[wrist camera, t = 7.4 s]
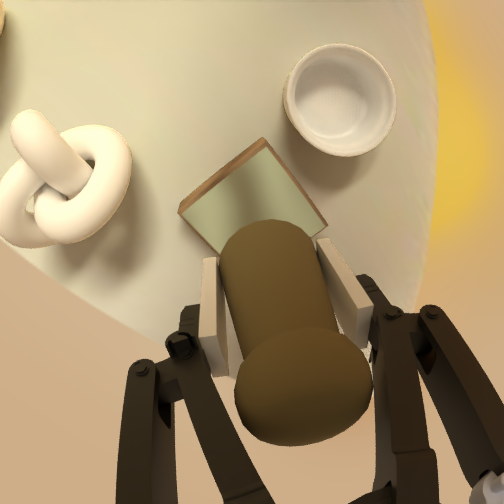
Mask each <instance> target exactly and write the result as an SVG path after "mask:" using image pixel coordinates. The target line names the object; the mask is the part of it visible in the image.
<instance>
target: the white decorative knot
mask: <svg viewBox="0 0 504 504" xmlns="http://www.w3.org/2000/svg"><path fill="white" fill-rule="evenodd" d="M10 136H11V140H12V143H13V145H14V147H15V149H16V150H17V152H18V153H19V155H20V156H21V157H22V158H20V159H19V160H18V161H17V162H16V163H15V164H14V165H13V166H12V167H11V168H10V169H9V170H8V171H7V173H6V174H5V175H4V177H3V178H2V180H1V182H0V234H1V236H2V237H3V238H4V239H5V240H6V241H8V242H9V243H11V244H12V245H14V246H18V247H21V248H30V249H32V248H42V247H46V246H50V245H54V244H57V243H66V244H70V243H76V242H79V241H82V240H84V239H86V238H88V237H90V236H92V235H93V234H94V233H96V232H97V231H98V230H99V229H101V228H102V227H103V226H104V225H105V224H106V223H107V222H108V221H109V220H110V218H111V217H112V216H113V214H114V213H115V212H116V210H117V209H118V208H119V206H120V204H121V202H122V200H123V198H124V196H125V194H126V192H127V189H128V186H129V183H130V177H131V170H132V155H131V152H130V149H129V146H128V144H127V143H126V141H125V140H124V139H123V137H122V136H121V134H119V133H118V132H117V131H116V130H114V129H112V128H109V127H106V126H101V125H85V126H79V127H75V128H72V129H69V130H67V131H65V132H62V133H60V134H58V132H57V131H56V130H55V129H54V128H53V127H52V125H51V124H50V123H49V122H48V121H47V120H46V118H45V117H44V116H43V115H42V114H41V113H40V112H39V111H36V110H30V109H28V110H25V111H23V112H20V113H19V114H18V115H17V116H16V117H15V119H14V120H13V121H12V124H11V128H10ZM85 160H94V161H95V167H94V170H93V169H92V168H91V167H90V166H89V165H88V164H87V163H86V162H85ZM33 195H34V213H31V212H28V211H26V210H25V208H26V205H27V202H28V201H29V200H30V198H31V197H32V196H33ZM66 196H67V197H68V198H69V200H68V201H67V198H66Z"/></svg>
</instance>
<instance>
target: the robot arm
mask: <svg viewBox="0 0 504 504" xmlns="http://www.w3.org/2000/svg"><path fill="white" fill-rule="evenodd" d="M316 250H317V256H318V259H319V263H320V266H321V269H322V272H323V276H324V279H325V283H326V286H327V289H328V293H329V296H330V300H331V303H332V307H333V311H334V313H335V315H336V317H337V319H338V321H339V323H340V325H341V327H342V329H343V331H344V334H345V336H346V337H347V338H348V339H350V340H351V341H352V342H353V343H354V344H355V345H356V346H357V347H358V348H359V349H364V348H367V345H368V339H369V341H370V343H371V345H372V348H371V353H370V358H369V363H371V362H372V373H373V387H374V404H375V433H376V473H375V479H374V483H373V489H372V492H370V493H367V494H365V495H363V496H361V497H359V498H358V499H356V500H354V501H352V502H350V503H348V504H441V503H439V484H438V469H437V459H436V453H435V451H434V450H433V449H431V448H430V446H429V441H428V433H427V425H426V418H425V411H424V404H423V398H422V392H421V387H420V381H419V376H418V371H419V373H420V375H421V377H422V379H423V382H424V383H425V386H426V388H427V390H428V392H429V394H430V396H431V398H432V400H433V402H434V405H435V407H436V409H437V411H438V414H439V416H440V418H441V420H442V423H443V425H444V427H445V429H446V432H447V434H448V436H449V439H450V441H451V444H452V446H453V449H454V451H455V454H456V456H457V459H458V461H459V464H460V467H461V469H462V471H463V474H464V475H465V478H466V480H467V481H468V483H469V485H470V486H471V487H472V492H471V496H470V498H469V504H504V404H503V403H502V401H501V399H500V397H499V395H498V394H497V392H496V390H495V388H494V387H493V385H492V383H491V382H490V380H489V378H488V377H487V375H486V373H485V372H484V370H483V369H482V367H481V365H480V364H479V362H478V361H477V359H476V358H475V356H474V354H473V353H472V351H471V350H470V348H469V347H468V345H467V344H466V342H465V341H464V339H463V338H462V336H461V335H460V334H459V332H458V331H457V329H456V328H455V326H454V325H453V323H452V322H451V321H450V319H449V318H448V317H447V315H446V314H445V312H444V311H443V310H442V309H441V308H440V307H438V306H436V305H425V306H423V307H422V308H421V309H420V313H404V312H403V311H402V310H401V309H400V308H399V307H396V306H392V305H391V304H390V303H389V301H388V300H387V298H386V297H385V296H384V294H383V293H382V291H381V290H380V289H379V287H378V286H377V285H376V283H375V282H374V280H373V279H372V278H371V277H369V276H367V275H366V274H362V275H357V276H354V274H353V273H352V271H351V270H350V268H349V267H348V265H347V264H346V262H345V261H344V260H343V258H342V257H341V255H340V254H339V252H338V251H337V250H336V248H335V247H334V245H333V244H332V242H331V241H330V240H329V238H323V239H317V240H316ZM165 346H166V348H167V350H168V352H169V355H170V357H169V358H168V359H166V360H164V361H161V362H158V363H155V364H154V362H153V361H151V360H149V359H141V360H138V361H136V362H134V363H133V364H132V365H131V367H130V368H129V371H128V376H127V383H126V390H125V397H124V404H123V412H122V421H121V430H120V439H119V452H118V463H117V481H116V504H178V497H177V481H176V460H175V420H174V418H175V414H174V402H176V401H179V400H181V399H184V400H185V403H186V406H187V409H188V412H189V415H190V418H191V421H192V423H193V426H194V429H195V432H196V435H197V437H198V440H199V442H200V445H201V448H202V450H203V453H204V455H205V457H206V460H207V463H208V465H209V468H210V470H211V472H212V475H213V477H214V479H215V482H216V484H217V486H218V488H219V491H220V493H221V495H222V498H223V502H224V504H275V502H274V500H273V499H272V497H271V495H270V493H269V492H268V490H267V488H266V487H265V485H264V484H263V482H262V480H261V478H260V476H259V475H258V473H257V471H256V469H255V467H254V465H253V463H252V461H251V459H250V457H249V456H248V454H247V452H246V450H245V448H244V446H243V444H242V442H241V440H240V438H239V436H238V434H237V432H236V430H235V428H234V425H233V423H232V421H231V419H230V417H229V415H228V413H227V411H226V409H225V406H224V404H223V402H222V400H221V398H220V395H219V393H218V391H217V389H216V387H215V384H214V382H213V380H212V378H211V374H212V376H213V377H220V376H228V375H229V369H228V353H227V335H226V316H225V294H224V289H223V285H222V281H221V276H220V272H219V267H218V263H217V258H216V256H215V257H209V258H203V270H202V284H201V300H200V304H196V305H190V306H185V308H184V309H183V311H182V312H181V316H180V323H179V331H176V332H174V333H172V334H171V335H170V336H168V337H167V339H166V341H165ZM417 369H418V370H417Z"/></svg>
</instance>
